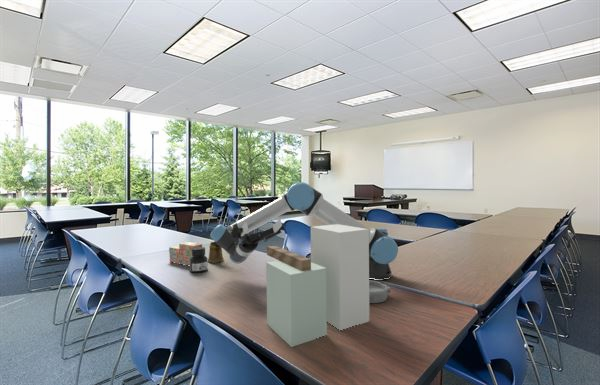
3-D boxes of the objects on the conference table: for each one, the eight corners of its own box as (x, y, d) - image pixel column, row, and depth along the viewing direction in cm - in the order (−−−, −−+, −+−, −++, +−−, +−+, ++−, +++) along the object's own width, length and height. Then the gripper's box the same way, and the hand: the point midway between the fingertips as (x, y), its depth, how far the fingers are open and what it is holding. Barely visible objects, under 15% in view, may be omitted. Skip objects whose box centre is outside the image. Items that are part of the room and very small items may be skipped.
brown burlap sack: (215, 265, 168) (214, 233, 167) (205, 261, 178) (204, 231, 178) (229, 262, 173) (229, 232, 173) (219, 258, 184) (218, 229, 183)
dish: (368, 307, 108) (368, 293, 108) (345, 295, 121) (345, 283, 120) (397, 300, 115) (397, 287, 115) (373, 289, 127) (373, 277, 127)
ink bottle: (193, 274, 151) (192, 251, 151) (186, 271, 158) (186, 248, 157) (211, 270, 158) (210, 248, 157) (204, 267, 164) (203, 245, 164)
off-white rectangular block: (311, 312, 104) (310, 226, 104) (338, 304, 110) (337, 224, 110) (340, 330, 91) (339, 232, 90) (369, 321, 97) (368, 229, 96)
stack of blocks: (169, 263, 175) (168, 242, 175) (178, 260, 181) (178, 240, 180) (193, 267, 164) (193, 245, 164) (202, 265, 170) (202, 243, 170)
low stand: (267, 324, 96) (266, 262, 95) (299, 315, 102) (298, 257, 101) (291, 347, 82) (290, 274, 81) (326, 335, 88) (326, 268, 88)
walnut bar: (266, 254, 105) (266, 246, 105) (274, 253, 107) (274, 245, 107) (302, 271, 85) (302, 260, 85) (311, 269, 86) (310, 259, 86)
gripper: (275, 249, 131) (295, 230, 115) (219, 257, 118) (233, 237, 102) (271, 233, 134) (290, 212, 118) (216, 239, 121) (229, 217, 105)
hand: (263, 224), depth 110 cm, fingers open, 13 cm apart
